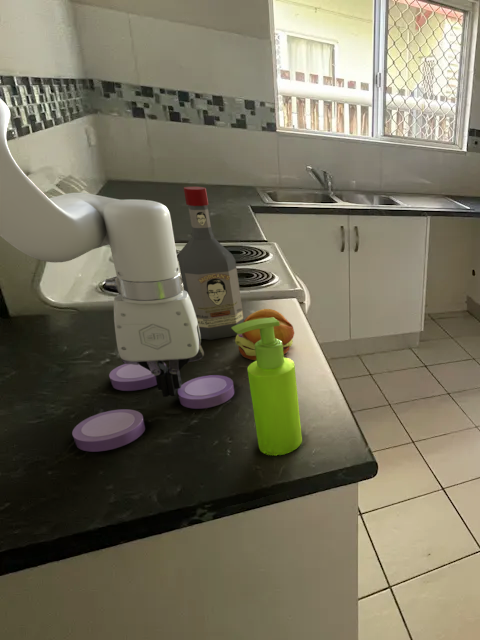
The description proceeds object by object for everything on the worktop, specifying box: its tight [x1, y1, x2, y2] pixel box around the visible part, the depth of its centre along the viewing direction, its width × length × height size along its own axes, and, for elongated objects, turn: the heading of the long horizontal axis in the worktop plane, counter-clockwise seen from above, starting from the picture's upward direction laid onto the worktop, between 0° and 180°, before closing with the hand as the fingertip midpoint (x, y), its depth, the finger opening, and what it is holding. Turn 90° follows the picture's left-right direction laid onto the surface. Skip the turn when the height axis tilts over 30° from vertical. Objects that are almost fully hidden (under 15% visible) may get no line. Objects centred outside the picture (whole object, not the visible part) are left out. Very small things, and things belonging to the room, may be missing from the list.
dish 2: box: [108, 362, 167, 392], centre depth 83 cm, size 8×8×2 cm
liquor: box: [177, 186, 245, 341], centre depth 97 cm, size 9×9×30 cm
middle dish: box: [176, 374, 235, 410], centre depth 80 cm, size 8×8×2 cm
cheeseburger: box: [234, 308, 295, 361], centre depth 94 cm, size 10×11×10 cm
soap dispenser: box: [231, 317, 303, 456], centre depth 66 cm, size 6×7×20 cm
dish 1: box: [71, 408, 146, 453], centre depth 69 cm, size 8×8×2 cm
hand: (171, 392), depth 78 cm, fingers closed
